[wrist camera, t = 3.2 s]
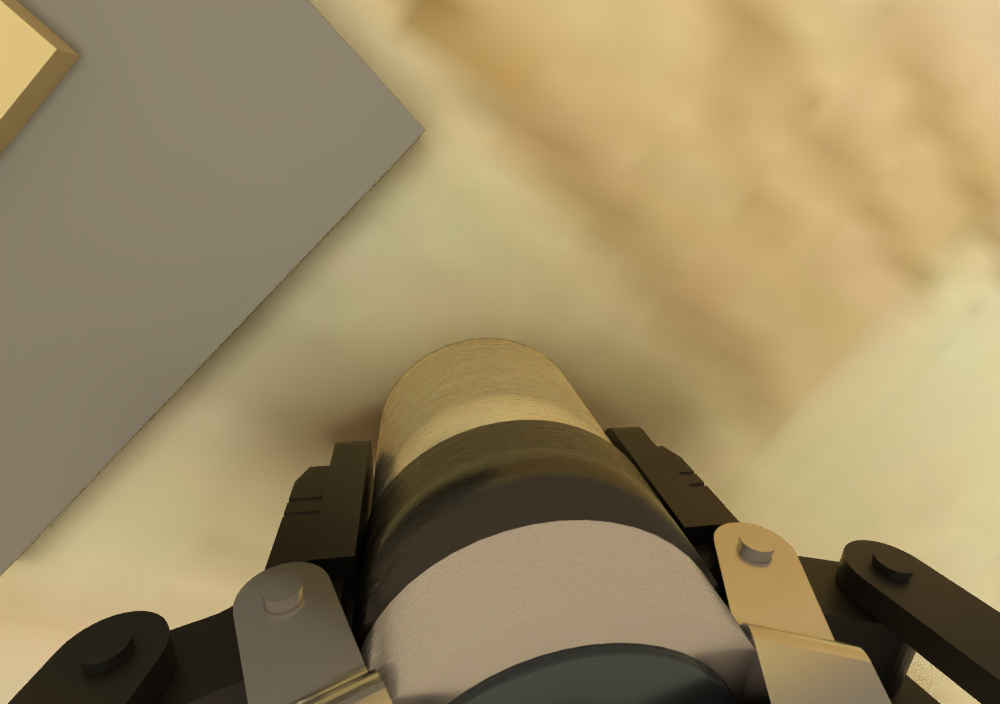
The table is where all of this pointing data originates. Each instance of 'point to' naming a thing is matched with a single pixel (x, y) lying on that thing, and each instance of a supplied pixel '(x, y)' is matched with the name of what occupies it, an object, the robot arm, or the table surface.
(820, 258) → the table surface
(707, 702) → the lens
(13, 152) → the mount plate
